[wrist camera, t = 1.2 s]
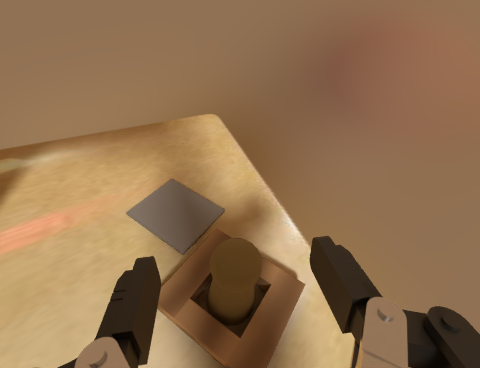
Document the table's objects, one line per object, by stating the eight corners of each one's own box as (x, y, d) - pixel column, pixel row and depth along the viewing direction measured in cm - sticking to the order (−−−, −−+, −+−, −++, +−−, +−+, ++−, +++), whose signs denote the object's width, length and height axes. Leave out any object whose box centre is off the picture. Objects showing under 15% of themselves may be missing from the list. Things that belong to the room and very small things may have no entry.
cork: (229, 267, 33) (234, 218, 26) (263, 297, 31) (281, 254, 23) (196, 300, 30) (191, 256, 22) (232, 338, 27) (241, 302, 20)
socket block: (154, 306, 29) (151, 298, 27) (215, 237, 37) (216, 228, 35) (253, 391, 24) (256, 388, 22) (300, 292, 32) (305, 284, 30)
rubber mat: (126, 214, 38) (125, 212, 38) (172, 180, 45) (171, 178, 44) (182, 254, 34) (182, 253, 34) (224, 211, 40) (224, 209, 40)
